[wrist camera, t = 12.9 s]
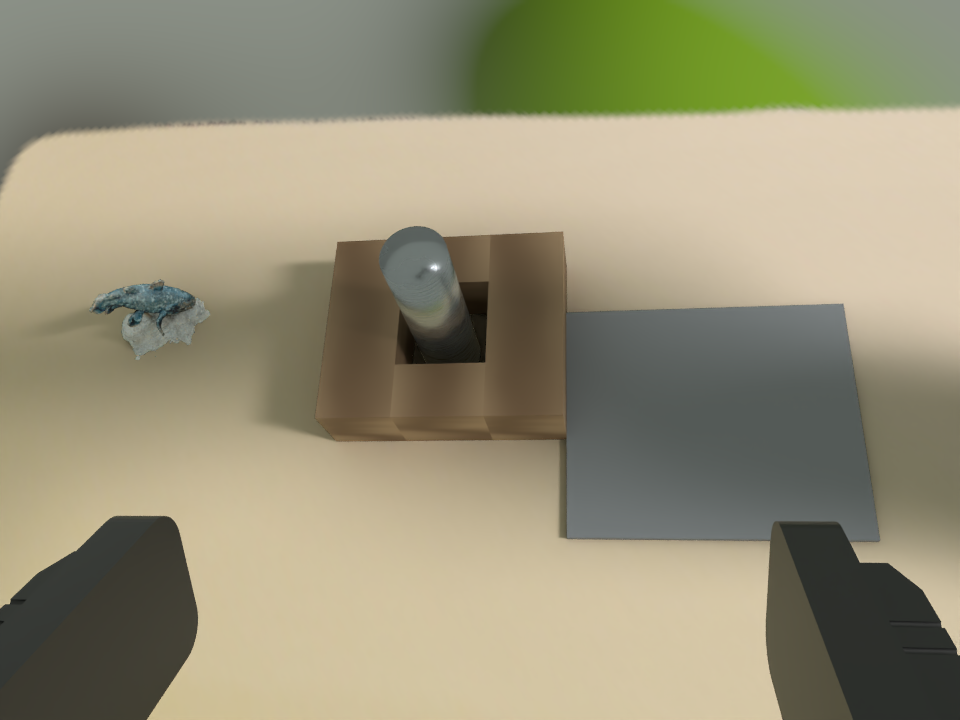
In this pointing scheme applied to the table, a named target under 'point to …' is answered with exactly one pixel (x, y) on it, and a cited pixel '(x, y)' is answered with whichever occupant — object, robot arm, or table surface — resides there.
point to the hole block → (450, 386)
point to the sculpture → (154, 314)
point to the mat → (713, 424)
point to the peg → (429, 295)
